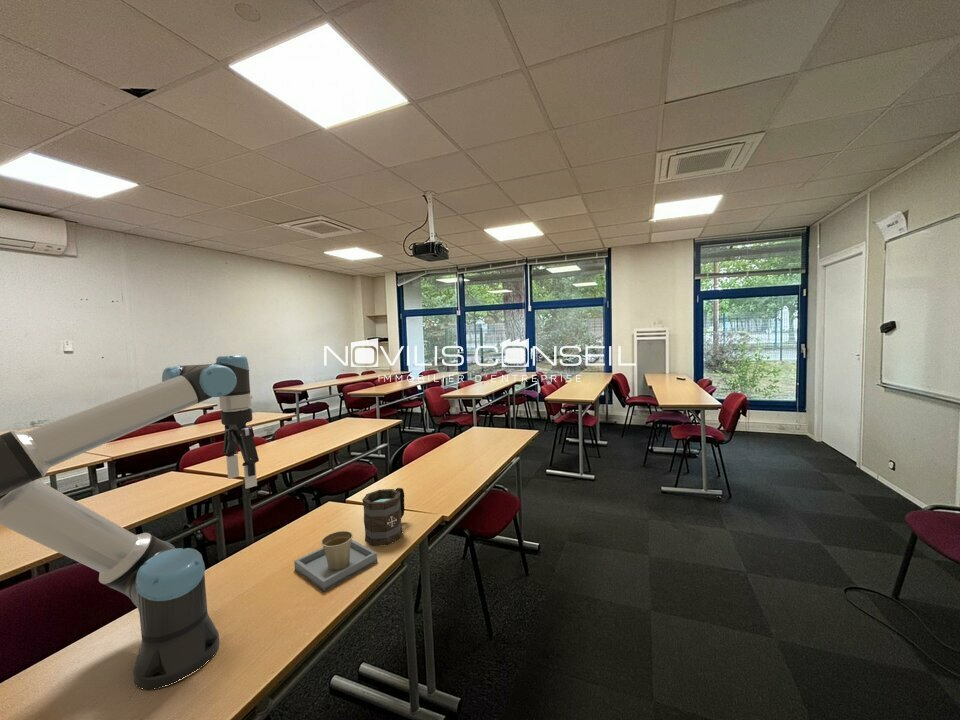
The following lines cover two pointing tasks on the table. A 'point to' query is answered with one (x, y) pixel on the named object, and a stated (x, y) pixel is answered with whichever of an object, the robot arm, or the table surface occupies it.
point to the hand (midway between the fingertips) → (242, 482)
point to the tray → (325, 579)
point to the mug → (383, 516)
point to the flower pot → (337, 549)
